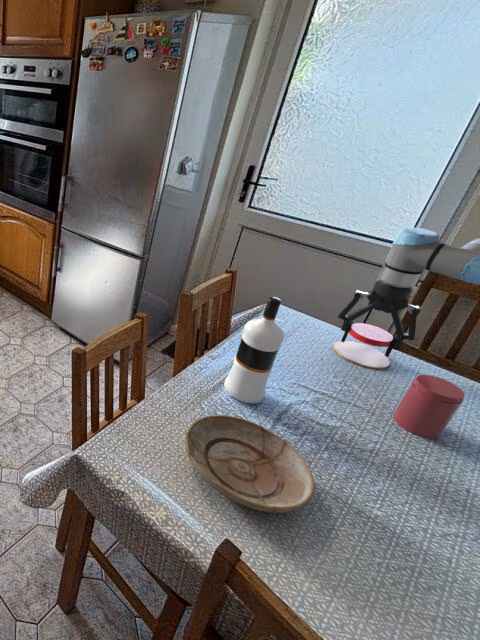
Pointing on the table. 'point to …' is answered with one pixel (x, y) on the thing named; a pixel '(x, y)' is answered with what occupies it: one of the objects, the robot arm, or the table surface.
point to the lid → (371, 335)
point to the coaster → (361, 354)
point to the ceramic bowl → (249, 464)
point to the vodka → (255, 356)
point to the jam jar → (428, 406)
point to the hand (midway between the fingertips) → (364, 347)
